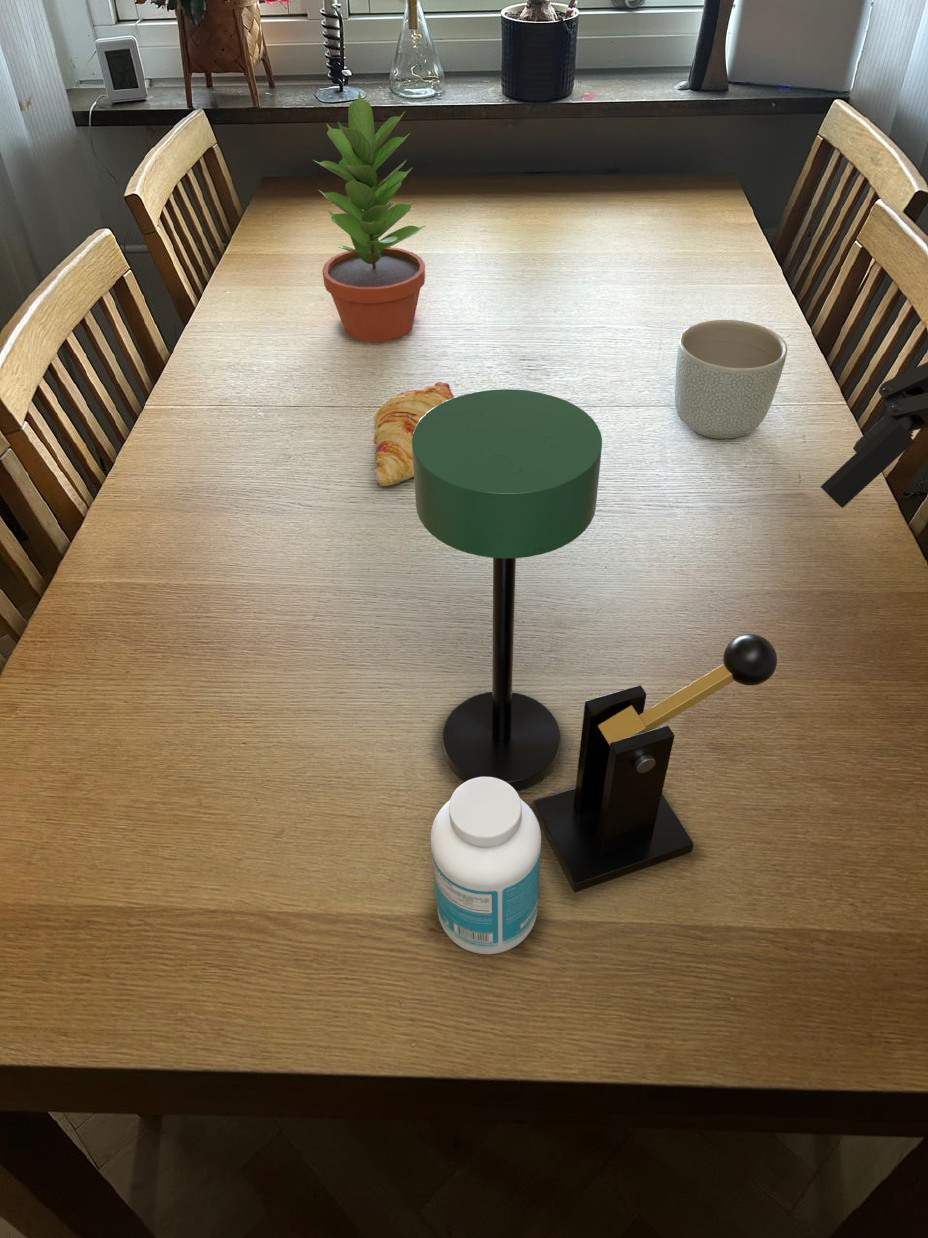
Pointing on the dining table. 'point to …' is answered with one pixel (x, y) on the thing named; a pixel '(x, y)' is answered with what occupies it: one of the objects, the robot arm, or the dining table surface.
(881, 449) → the robot arm
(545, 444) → the desk lamp
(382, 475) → the croissant
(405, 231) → the potted plant
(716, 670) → the lamp switch
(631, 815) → the switch bracket
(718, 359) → the planter
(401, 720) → the dining table surface
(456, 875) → the pill bottle
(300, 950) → the dining table surface
